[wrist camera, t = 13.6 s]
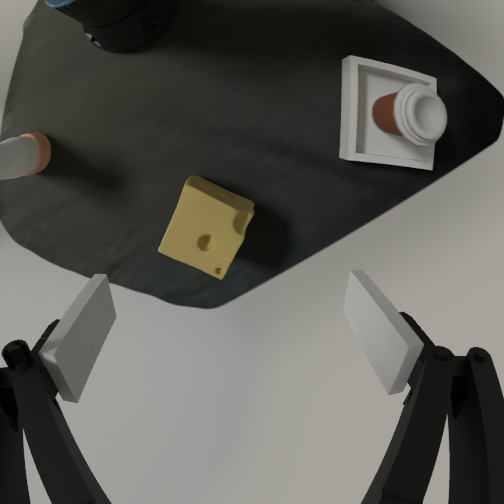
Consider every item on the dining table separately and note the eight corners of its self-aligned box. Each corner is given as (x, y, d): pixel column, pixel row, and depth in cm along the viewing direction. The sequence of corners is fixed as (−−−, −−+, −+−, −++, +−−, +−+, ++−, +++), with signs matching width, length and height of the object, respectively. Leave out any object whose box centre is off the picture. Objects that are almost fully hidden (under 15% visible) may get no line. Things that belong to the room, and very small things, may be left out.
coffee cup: (417, 114, 42) (461, 116, 31) (390, 151, 45) (432, 161, 34) (381, 77, 39) (422, 68, 28) (352, 115, 42) (390, 114, 31)
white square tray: (341, 59, 39) (350, 55, 35) (424, 80, 40) (436, 78, 37) (339, 157, 45) (347, 160, 42) (421, 167, 46) (432, 170, 43)
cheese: (253, 200, 47) (260, 218, 38) (222, 256, 50) (221, 285, 41) (193, 170, 44) (185, 181, 35) (165, 230, 48) (152, 254, 39)
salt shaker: (17, 162, 40) (-55, 186, 22) (30, 126, 38) (-45, 136, 20) (42, 179, 42) (-29, 210, 24) (57, 141, 40) (-18, 157, 22)
